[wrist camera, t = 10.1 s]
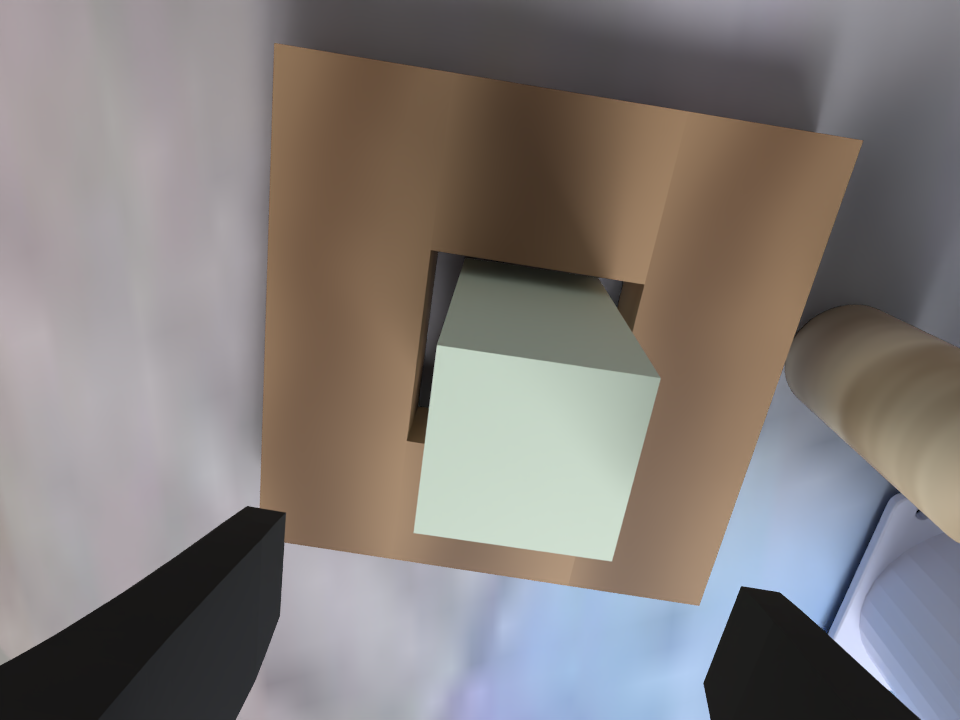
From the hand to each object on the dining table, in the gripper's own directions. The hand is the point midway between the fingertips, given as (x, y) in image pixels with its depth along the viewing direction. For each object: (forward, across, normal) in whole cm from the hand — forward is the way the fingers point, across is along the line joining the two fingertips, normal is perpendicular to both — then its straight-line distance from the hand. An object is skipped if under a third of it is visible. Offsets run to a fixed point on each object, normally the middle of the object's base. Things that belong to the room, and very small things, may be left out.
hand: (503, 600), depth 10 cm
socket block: (+10, 0, -1) cm, 10 cm away
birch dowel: (+10, -10, -2) cm, 15 cm away
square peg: (+10, 0, -1) cm, 10 cm away
